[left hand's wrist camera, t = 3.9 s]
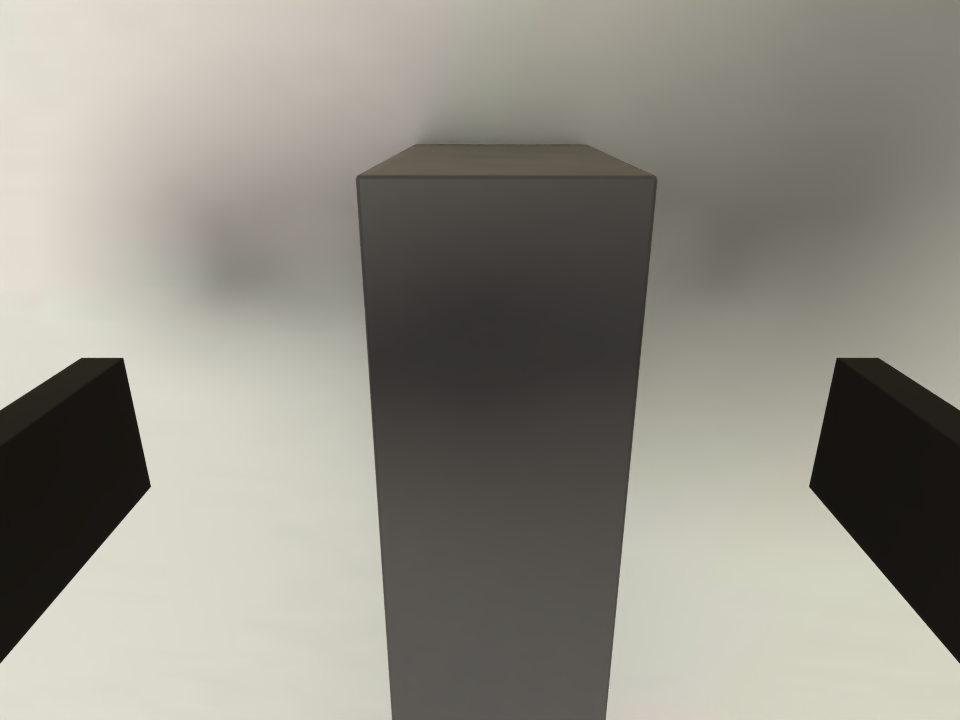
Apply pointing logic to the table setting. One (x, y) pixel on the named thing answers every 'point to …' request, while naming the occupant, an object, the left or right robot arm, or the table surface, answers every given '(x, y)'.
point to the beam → (503, 419)
